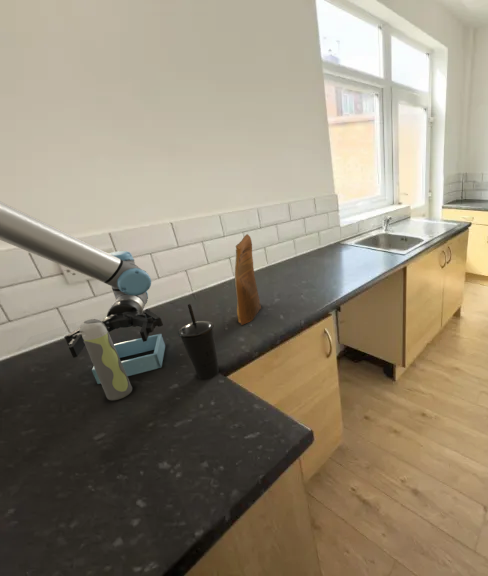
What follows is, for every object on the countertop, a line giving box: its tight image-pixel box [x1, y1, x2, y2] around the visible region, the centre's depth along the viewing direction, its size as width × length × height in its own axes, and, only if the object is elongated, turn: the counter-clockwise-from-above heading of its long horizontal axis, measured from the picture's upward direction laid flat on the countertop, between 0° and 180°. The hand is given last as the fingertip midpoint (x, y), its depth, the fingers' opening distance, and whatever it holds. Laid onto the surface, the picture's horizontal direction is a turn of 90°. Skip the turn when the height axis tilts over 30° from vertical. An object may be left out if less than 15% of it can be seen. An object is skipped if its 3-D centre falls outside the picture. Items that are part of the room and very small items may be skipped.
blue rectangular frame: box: [91, 333, 166, 385], centre depth 88 cm, size 14×13×4 cm
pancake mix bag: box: [234, 233, 262, 326], centre depth 110 cm, size 7×19×28 cm, turn 3°
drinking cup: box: [177, 303, 220, 380], centre depth 79 cm, size 8×8×20 cm
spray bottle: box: [79, 318, 133, 401], centre depth 73 cm, size 5×5×20 cm
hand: (109, 344), depth 77 cm, fingers open, 13 cm apart
